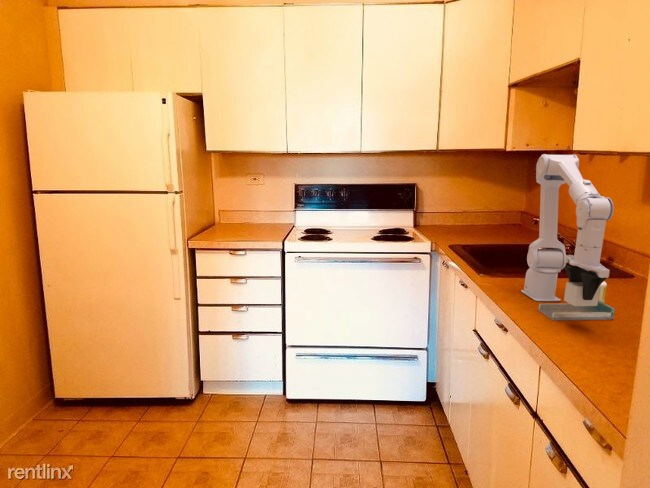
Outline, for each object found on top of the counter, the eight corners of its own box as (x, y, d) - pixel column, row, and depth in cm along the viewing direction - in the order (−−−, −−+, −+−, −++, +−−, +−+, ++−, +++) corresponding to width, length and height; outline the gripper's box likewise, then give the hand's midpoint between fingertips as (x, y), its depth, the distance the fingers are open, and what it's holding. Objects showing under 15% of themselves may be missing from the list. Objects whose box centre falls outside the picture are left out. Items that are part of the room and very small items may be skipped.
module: (564, 300, 115) (566, 281, 114) (585, 300, 115) (588, 281, 114) (574, 306, 110) (577, 286, 109) (597, 305, 111) (599, 286, 110)
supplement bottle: (595, 301, 133) (600, 271, 130) (607, 308, 127) (612, 276, 125) (578, 301, 132) (583, 271, 130) (589, 308, 127) (594, 276, 125)
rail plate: (553, 320, 118) (554, 309, 117) (538, 310, 125) (539, 299, 124) (612, 319, 119) (614, 308, 118) (594, 309, 126) (596, 299, 125)
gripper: (556, 239, 116) (550, 287, 119) (592, 252, 102) (584, 306, 105) (582, 239, 117) (575, 287, 120) (621, 252, 102) (612, 306, 105)
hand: (581, 296), depth 112 cm, fingers closed on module, 4 cm apart
